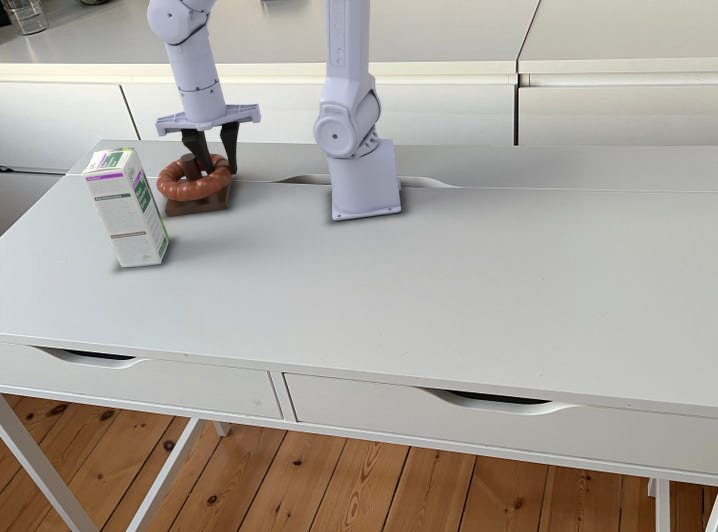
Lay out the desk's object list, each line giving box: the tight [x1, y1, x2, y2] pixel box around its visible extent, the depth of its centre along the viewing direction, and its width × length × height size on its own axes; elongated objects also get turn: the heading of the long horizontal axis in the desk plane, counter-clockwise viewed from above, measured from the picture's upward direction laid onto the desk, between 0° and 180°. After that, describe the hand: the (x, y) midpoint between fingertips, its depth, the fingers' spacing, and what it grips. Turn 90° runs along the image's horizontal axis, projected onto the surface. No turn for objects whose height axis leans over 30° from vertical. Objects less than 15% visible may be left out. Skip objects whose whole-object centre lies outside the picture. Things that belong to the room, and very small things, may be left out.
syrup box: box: [80, 147, 170, 268], centre depth 101 cm, size 6×6×14 cm
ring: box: [155, 152, 233, 202], centre depth 114 cm, size 11×11×3 cm
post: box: [164, 152, 233, 218], centre depth 114 cm, size 9×9×7 cm
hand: (223, 173), depth 113 cm, fingers closed on ring, 3 cm apart
